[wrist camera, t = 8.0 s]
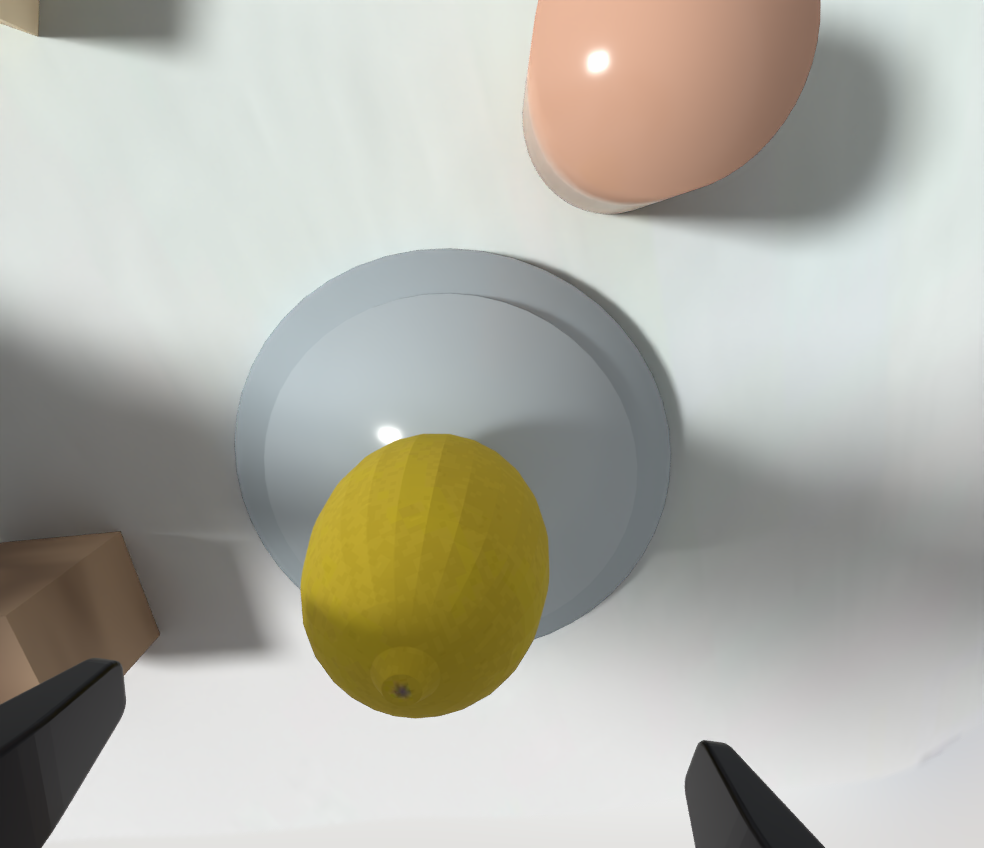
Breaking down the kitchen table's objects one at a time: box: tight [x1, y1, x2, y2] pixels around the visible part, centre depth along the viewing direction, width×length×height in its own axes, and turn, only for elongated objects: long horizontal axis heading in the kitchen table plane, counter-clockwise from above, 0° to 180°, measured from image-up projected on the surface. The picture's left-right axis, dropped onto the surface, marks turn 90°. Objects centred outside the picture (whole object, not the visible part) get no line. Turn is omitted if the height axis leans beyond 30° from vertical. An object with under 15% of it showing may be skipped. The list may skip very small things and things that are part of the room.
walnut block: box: [0, 532, 160, 704], centre depth 17 cm, size 4×4×4 cm
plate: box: [235, 248, 671, 639], centre depth 17 cm, size 14×14×1 cm
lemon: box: [301, 434, 550, 718], centre depth 12 cm, size 6×6×8 cm
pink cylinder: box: [522, 0, 820, 214], centre depth 11 cm, size 5×5×5 cm
